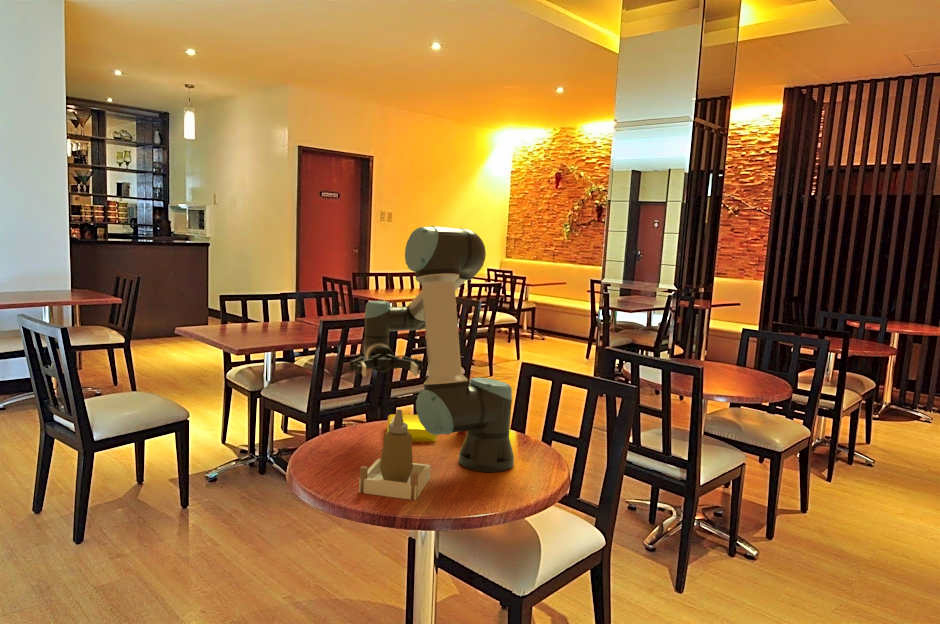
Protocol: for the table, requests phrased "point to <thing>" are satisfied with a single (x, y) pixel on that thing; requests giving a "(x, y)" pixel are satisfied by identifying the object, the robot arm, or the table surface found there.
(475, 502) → the table surface
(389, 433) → the squeeze bottle
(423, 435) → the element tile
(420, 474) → the tray
